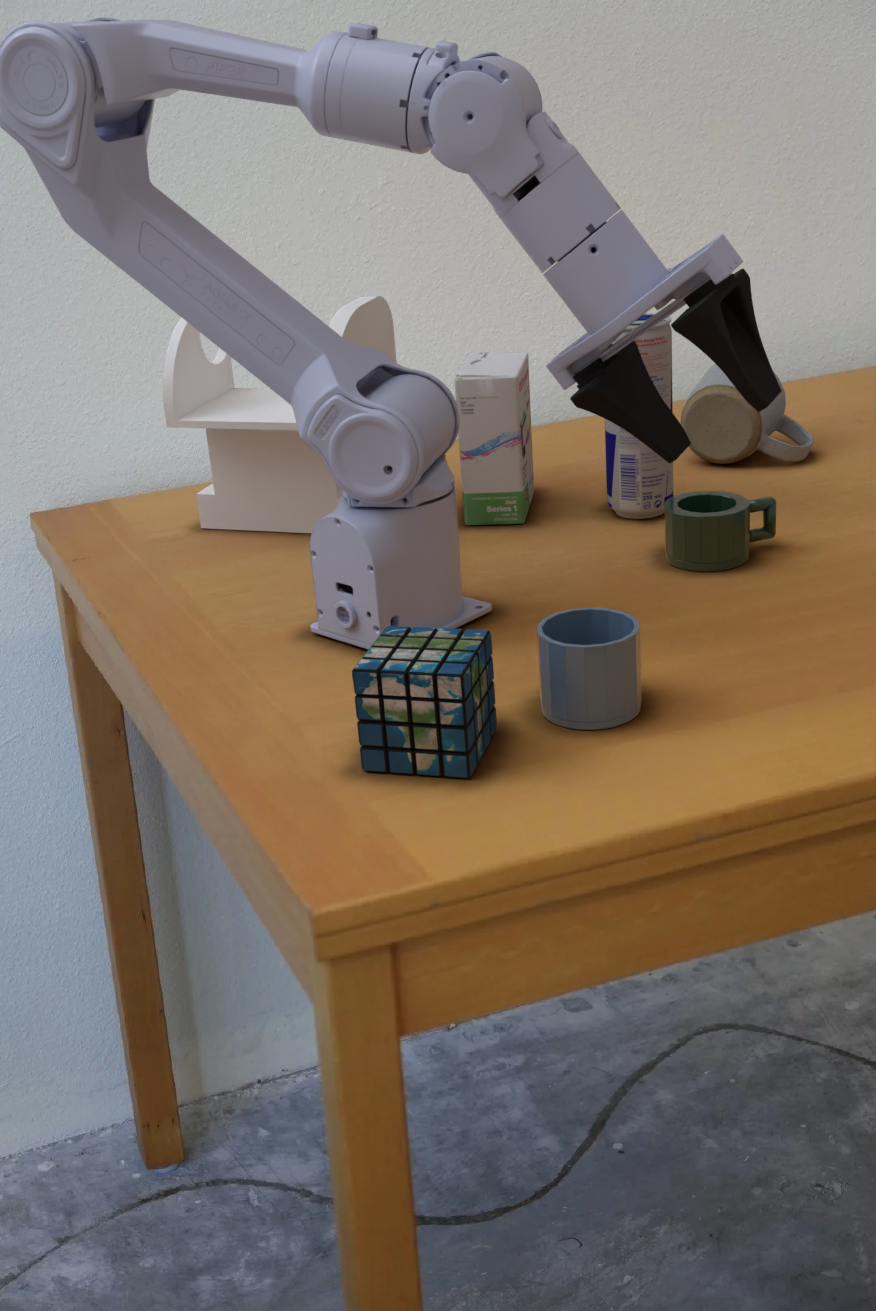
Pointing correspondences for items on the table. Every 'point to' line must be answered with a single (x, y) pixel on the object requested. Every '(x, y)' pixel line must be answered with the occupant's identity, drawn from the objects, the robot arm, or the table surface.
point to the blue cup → (589, 668)
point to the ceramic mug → (738, 424)
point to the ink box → (495, 437)
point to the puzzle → (425, 701)
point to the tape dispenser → (259, 431)
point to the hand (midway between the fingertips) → (723, 428)
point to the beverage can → (630, 464)
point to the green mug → (714, 529)
